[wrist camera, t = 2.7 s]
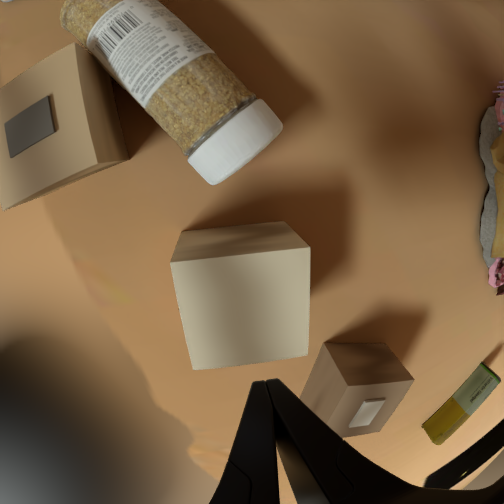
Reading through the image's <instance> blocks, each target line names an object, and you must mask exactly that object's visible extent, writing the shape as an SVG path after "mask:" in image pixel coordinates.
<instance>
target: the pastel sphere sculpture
mask: <svg viewBox="0 0 504 504" xmlns="http://www.w3.org/2000/svg"><path fill="white" fill-rule="evenodd" d="M499 83H504V81H503V82H502V81H499ZM497 88H501V89H504V86H497ZM492 92H493V93H496V92H500V94H498V96H500V98H496V104H495V107H494V106H492V107H489V108H488V109H487V111H486V113H485V116H484V118H483V120H482V122H481V136H480V139H479V145H480V156H481V158H482V160H483V162H484V164H485V175H486V178H487V181H488V183H489V185H490V190H489V192H488V194H487V197H486V199H485V203H484V204H485V208H484V212H483V214H482V217H481V230H480V242H481V244H482V246H483V249H484V251H483V258H484V260H485V262H486V264H487V267H488V268H490V269H489V285H491V286H493V287H494V288H496V287H499V286H500V288H499V290H498V292H497V295H502V294H504V90H498V91H492Z"/></svg>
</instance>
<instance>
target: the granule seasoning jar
mask: <svg viewBox="0 0 504 504" xmlns="http://www.w3.org/2000/svg"><path fill="white" fill-rule="evenodd" d="M60 22H61V26H62V27H63V28H64V29H65V30H67V31H68V32H71V33H72V34H73V35H74V36H75V37H76V38H77V39H78V40H79V41H80V42H81V43H82V44H83V45H84V46H85V47H86V48H87V49H88V50H89V51H90V52H91V54H92V55H93V56H94V58H95V59H96V60H97V62H98V63H99V64H100V65H101V66H102V67H103V68H104V69H105V70H106V71H107V72H108V73H109V74H110V75H111V76H112V77H113V78H114V79H115V80H116V81H117V83H118V84H119V85H120V86H121V87H122V88H124V89H126V91H127V92H128V93H129V94H130V95H131V96H132V97H133V98H134V99H135V100H136V101H137V103H138V104H139V105H141V106H142V108H144V109H145V111H146V112H147V113H148V114H149V115H150V116H152V117H153V118H154V120H155V121H156V122H157V123H158V124H159V125H160V126H161V127H162V128H163V130H164V131H166V132H167V133H168V134H169V136H170V137H172V138H173V140H174V141H175V142H176V143H177V144H178V145H179V146H180V147H181V149H182V152H183V154H184V155H185V156H186V155H188V162H189V163H190V164H191V165H192V166H193V168H194V169H195V170H196V171H197V172H198V173H199V174H200V175H201V176H202V177H203V178H204V179H205V180H206V181H207V182H208V183H209V184H211V185H216V184H219V183H220V182H222V181H224V180H225V179H226V178H228V177H229V176H231V175H232V174H234V173H235V172H237V171H238V170H239V169H241V168H242V167H243V166H244V165H246V164H247V163H248V162H249V161H250V160H252V159H253V158H254V157H255V156H256V155H258V154H259V153H260V152H261V151H262V150H263V149H264V148H266V147H267V146H268V145H269V144H270V143H271V142H272V141H273V140H274V139H275V138H276V137H277V136H278V135H279V134H280V132H281V131H282V129H283V124H282V122H281V121H280V120H279V118H278V117H277V116H276V115H275V113H274V112H273V111H272V110H271V109H270V108H269V106H268V105H267V104H266V103H265V102H264V101H263V100H262V99H256V95H255V94H254V93H251V92H250V91H249V90H248V89H247V88H246V86H245V85H244V84H243V83H242V82H241V81H240V80H239V79H238V78H237V77H236V76H235V75H234V73H233V72H232V71H231V70H229V69H228V68H227V67H226V65H224V63H223V62H222V61H221V60H220V59H219V58H218V57H217V55H216V53H215V52H214V51H213V50H212V49H211V48H210V47H208V46H207V45H206V44H205V43H204V42H203V41H202V40H201V39H200V38H199V37H198V36H197V35H196V34H195V33H194V32H193V31H192V30H191V29H189V28H188V27H187V26H186V25H185V24H184V23H183V22H182V21H181V20H180V19H179V18H177V17H176V16H175V15H174V14H173V13H172V12H171V11H169V10H168V9H167V8H166V7H165V6H164V5H162V4H161V3H160V2H159V1H158V0H66V1H65V3H64V4H63V6H62V9H61V12H60Z"/></svg>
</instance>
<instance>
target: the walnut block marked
mask: <svg viewBox="0 0 504 504" xmlns="http://www.w3.org/2000/svg"><path fill="white" fill-rule="evenodd" d="M414 380H415V379H414V378H413V377H412V376H411V374H410V373H409V372H408V371H407V369H406V368H405V367H404V366H403V365H402V363H401V362H400V361H399V360H398V358H397V357H396V356H395V355H394V354H393V352H392V351H391V350H390V349H389V347H388V346H387V345H386V344H360V343H323V345H322V347H321V350H320V352H319V355H318V357H317V359H316V362H315V364H314V367H313V369H312V371H311V374H310V376H309V378H308V381H307V383H306V385H305V387H304V389H303V392H302V394H301V396H300V399H301V401H302V402H303V403H304V404H305V405H306V406H307V407H308V408H310V409H311V410H312V411H313V412H314V413H315V414H316V415H317V416H318V417H319V418H320V419H321V420H322V421H324V422H325V423H326V424H327V425H328V426H329V427H330V428H331V429H332V430H333V431H335V432H336V433H337V434H338V435H339V436H340V437H341V438H344V437H351V436H357V435H363V434H369V433H374V432H379V431H380V430H381V429H382V427H383V426H384V425H385V423H386V422H387V421H388V419H389V418H390V416H391V415H392V414H393V412H394V411H395V409H396V408H397V406H398V405H399V403H400V402H401V400H402V399H403V397H404V396H405V394H406V393H407V391H408V390H409V388H410V386H411V385H412V383H413V382H414Z"/></svg>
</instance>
